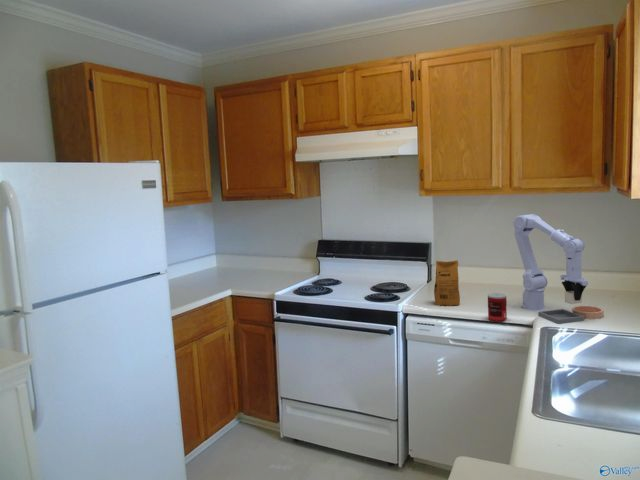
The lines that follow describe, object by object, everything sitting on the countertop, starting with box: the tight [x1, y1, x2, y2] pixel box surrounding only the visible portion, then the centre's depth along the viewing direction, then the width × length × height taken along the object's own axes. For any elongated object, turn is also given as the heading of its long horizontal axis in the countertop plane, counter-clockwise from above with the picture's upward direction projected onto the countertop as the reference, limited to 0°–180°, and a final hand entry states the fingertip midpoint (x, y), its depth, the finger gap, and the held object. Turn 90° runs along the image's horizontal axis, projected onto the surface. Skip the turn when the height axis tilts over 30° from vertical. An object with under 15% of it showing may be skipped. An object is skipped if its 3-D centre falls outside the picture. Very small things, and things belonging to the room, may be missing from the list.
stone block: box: [564, 290, 583, 305], centre depth 205 cm, size 4×5×4 cm
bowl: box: [571, 305, 605, 320], centre depth 208 cm, size 12×12×3 cm
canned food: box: [487, 292, 508, 323], centre depth 211 cm, size 8×8×11 cm
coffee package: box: [433, 260, 461, 307], centre depth 241 cm, size 10×12×22 cm
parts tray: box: [537, 308, 585, 325], centre depth 205 cm, size 13×12×2 cm
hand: (573, 299), depth 206 cm, fingers closed on stone block, 4 cm apart
